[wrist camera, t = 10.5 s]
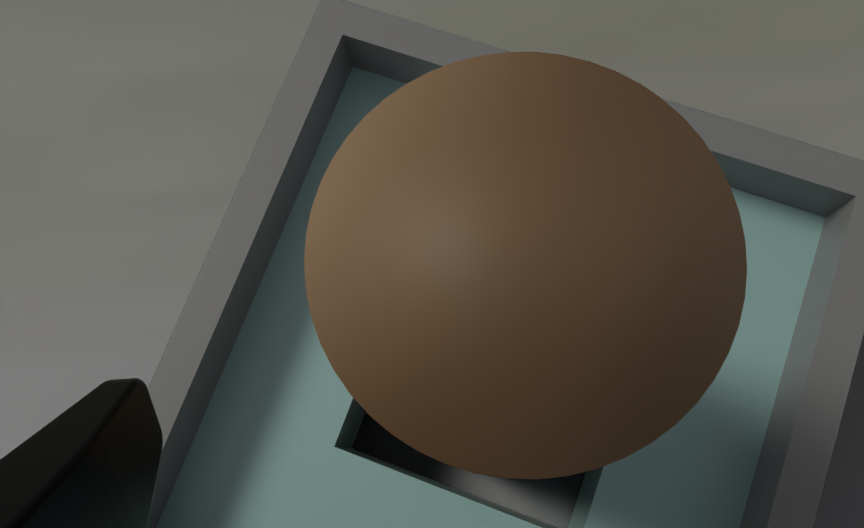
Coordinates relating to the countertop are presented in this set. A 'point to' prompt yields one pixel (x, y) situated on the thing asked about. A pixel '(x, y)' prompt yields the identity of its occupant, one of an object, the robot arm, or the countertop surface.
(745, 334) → the peg box
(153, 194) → the countertop surface
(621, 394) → the walnut peg
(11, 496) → the robot arm
